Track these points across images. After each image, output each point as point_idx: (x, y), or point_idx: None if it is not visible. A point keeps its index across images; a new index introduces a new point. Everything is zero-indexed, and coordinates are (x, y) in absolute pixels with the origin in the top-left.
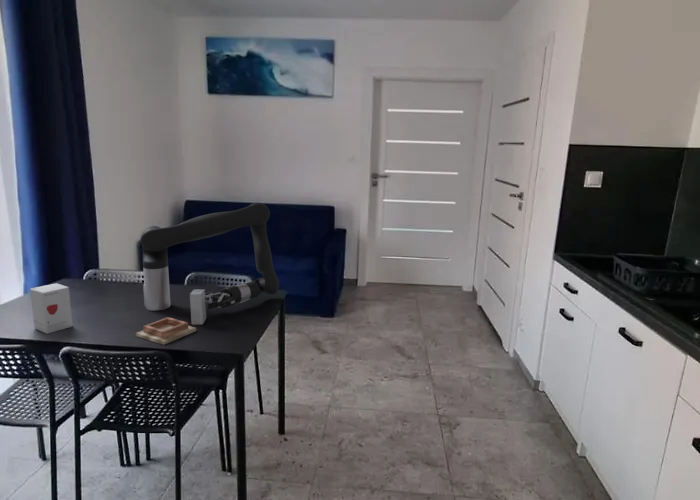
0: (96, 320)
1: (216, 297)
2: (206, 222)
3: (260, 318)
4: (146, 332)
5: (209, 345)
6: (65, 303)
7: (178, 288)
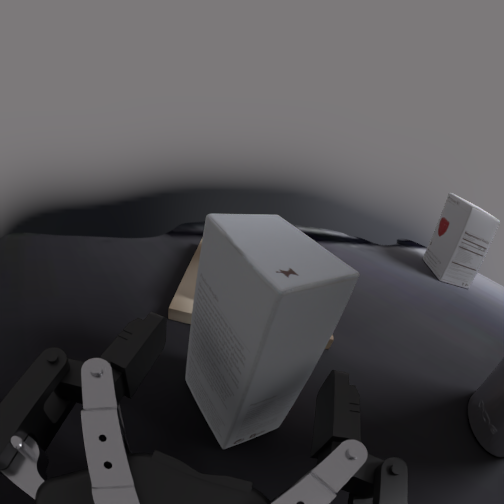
0: (455, 306)
1: (192, 476)
2: None
3: None
4: None
5: (79, 251)
6: (455, 231)
7: None
